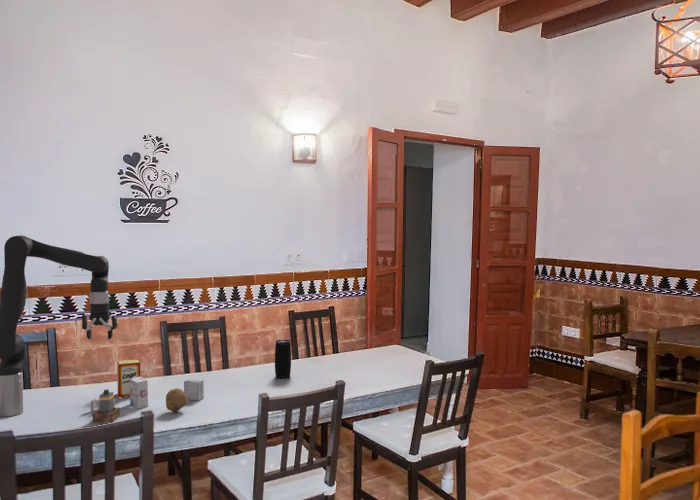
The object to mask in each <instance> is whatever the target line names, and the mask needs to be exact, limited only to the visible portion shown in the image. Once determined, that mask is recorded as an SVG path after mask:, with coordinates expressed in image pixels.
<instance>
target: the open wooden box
mask: <svg viewBox="0 0 700 500" xmlns="http://www.w3.org/2000/svg"><path fill="white" fill-rule="evenodd" d="M119 417H121V407H115V408H113V412H112V413H100V409H98V410H97V411H96V412H94V413H92V424H93V423H94V424H99V423H100V424H107V423H108V424H109V423H110V424H111V423H112V422H113V423H114V422H116V421H117V420H118V419H119ZM113 423H112V424H113Z"/></svg>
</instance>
